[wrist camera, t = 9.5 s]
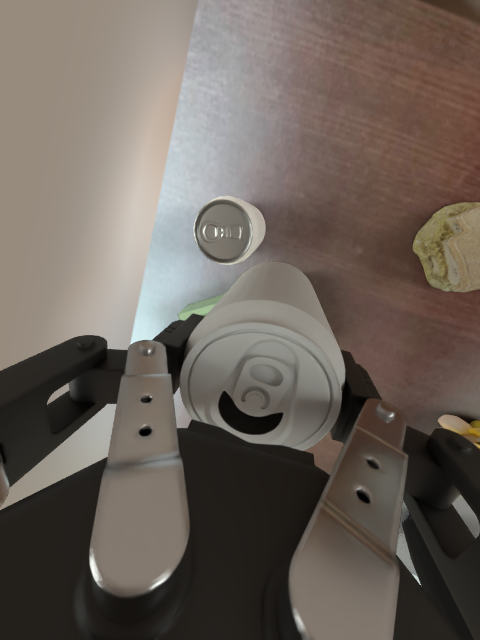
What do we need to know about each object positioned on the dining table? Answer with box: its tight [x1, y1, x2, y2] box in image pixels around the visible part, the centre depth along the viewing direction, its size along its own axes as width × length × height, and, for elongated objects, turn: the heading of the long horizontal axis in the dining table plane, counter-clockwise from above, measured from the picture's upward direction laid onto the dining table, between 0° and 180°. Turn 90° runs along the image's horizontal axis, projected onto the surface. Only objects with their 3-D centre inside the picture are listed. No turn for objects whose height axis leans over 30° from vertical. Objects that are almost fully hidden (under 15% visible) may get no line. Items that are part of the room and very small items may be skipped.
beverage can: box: [180, 261, 345, 451], centre depth 14 cm, size 6×6×12 cm
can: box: [194, 196, 266, 265], centre depth 28 cm, size 6×6×12 cm
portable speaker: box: [402, 512, 474, 640], centre depth 39 cm, size 9×9×20 cm
